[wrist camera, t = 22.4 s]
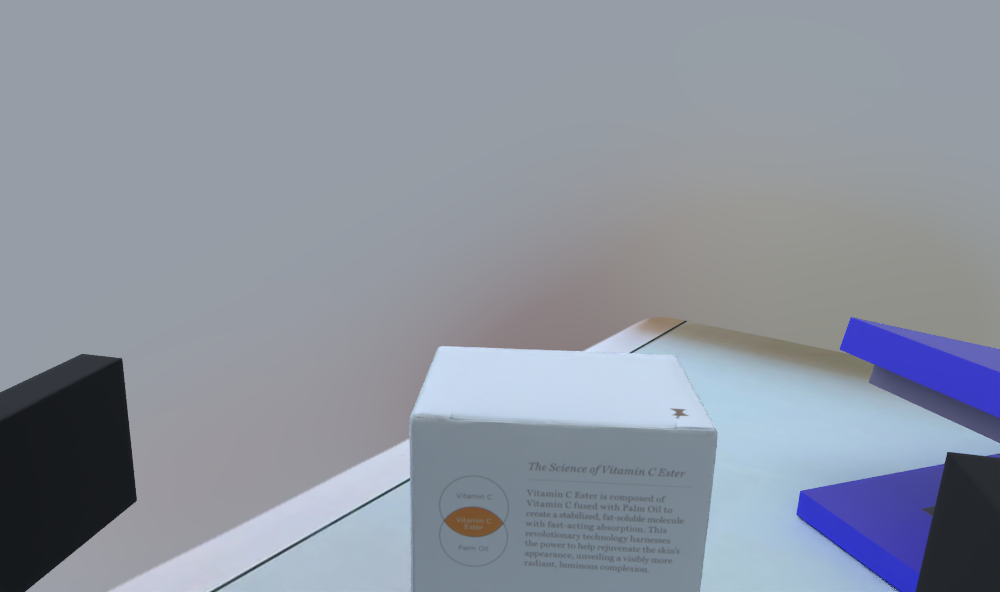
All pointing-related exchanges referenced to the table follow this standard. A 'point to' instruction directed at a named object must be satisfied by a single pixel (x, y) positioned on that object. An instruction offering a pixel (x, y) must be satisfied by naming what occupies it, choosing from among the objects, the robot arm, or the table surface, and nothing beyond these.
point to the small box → (558, 473)
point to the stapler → (910, 494)
